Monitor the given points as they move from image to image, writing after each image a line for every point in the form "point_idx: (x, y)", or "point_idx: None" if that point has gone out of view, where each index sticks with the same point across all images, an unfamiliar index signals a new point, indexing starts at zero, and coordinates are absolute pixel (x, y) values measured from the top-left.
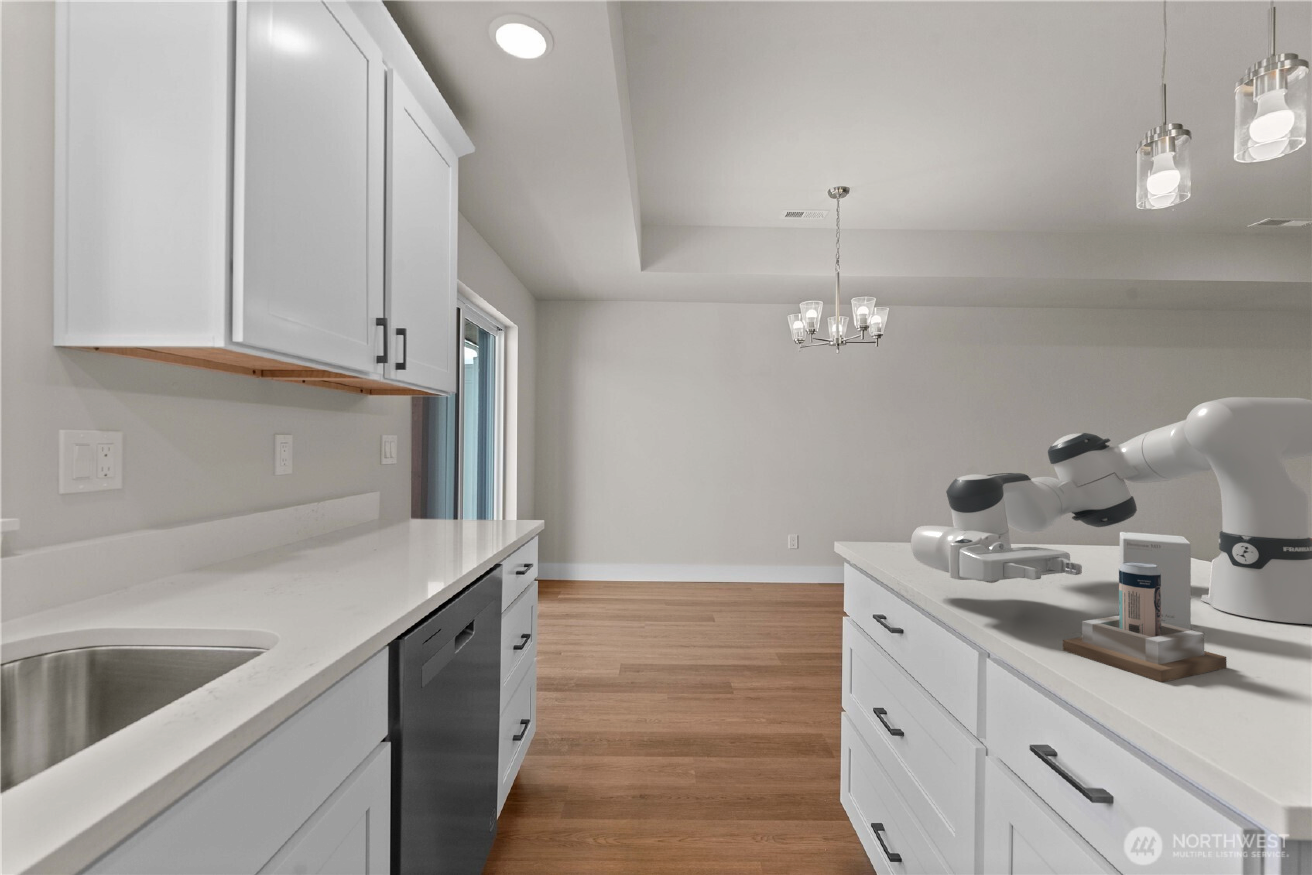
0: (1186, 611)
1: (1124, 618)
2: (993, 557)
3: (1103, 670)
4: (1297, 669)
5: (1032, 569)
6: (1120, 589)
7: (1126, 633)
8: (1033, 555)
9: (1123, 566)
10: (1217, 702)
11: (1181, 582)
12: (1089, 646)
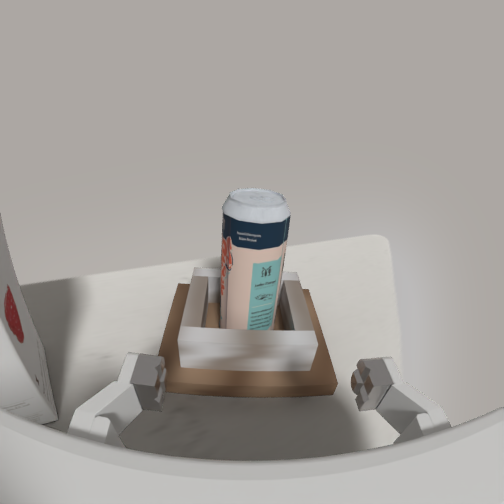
0: (31, 320)
1: (278, 295)
2: (490, 440)
3: (340, 333)
4: (120, 272)
5: (392, 359)
6: (278, 256)
7: (303, 295)
8: (250, 467)
9: (284, 208)
10: (301, 271)
11: (15, 278)
12: (319, 353)
